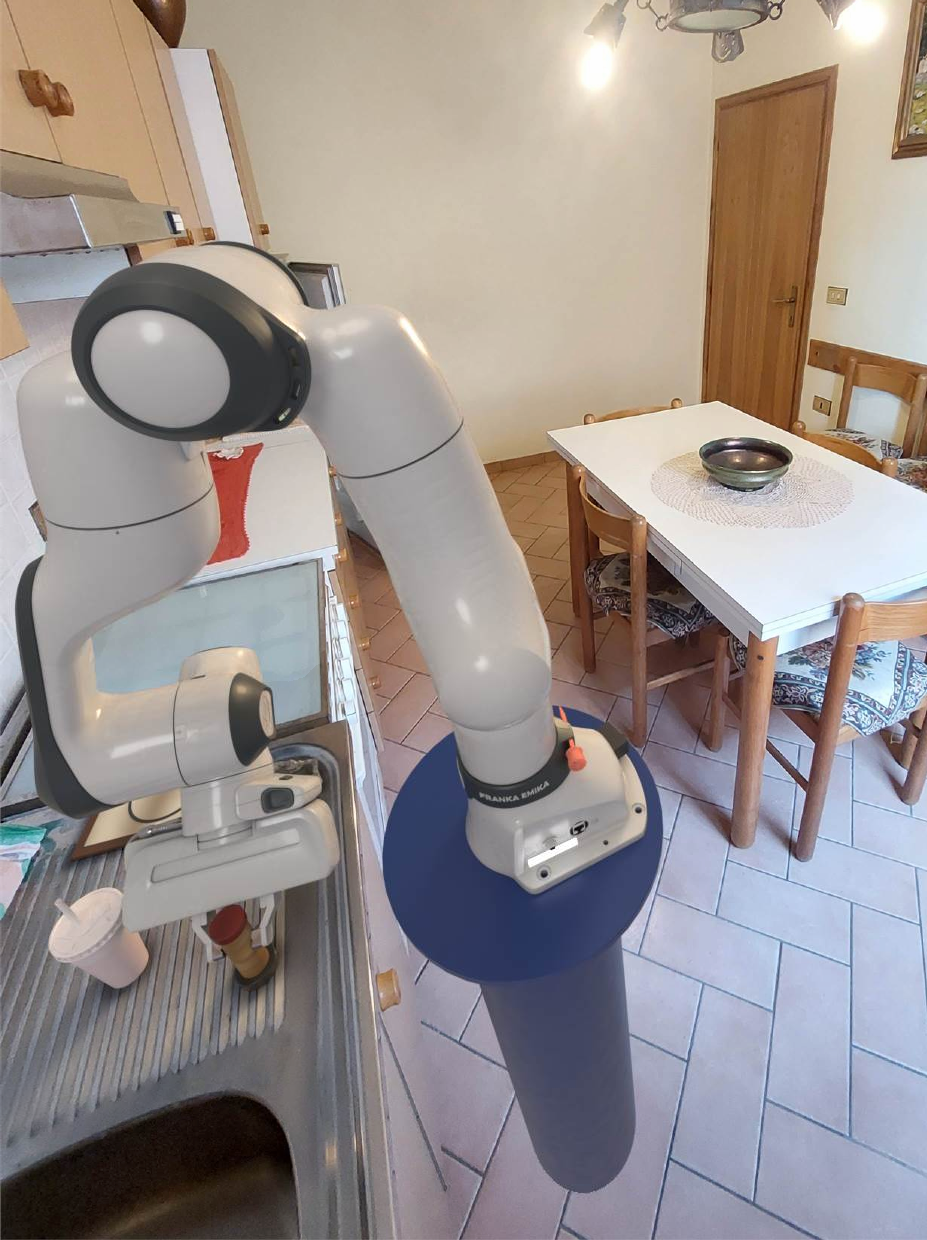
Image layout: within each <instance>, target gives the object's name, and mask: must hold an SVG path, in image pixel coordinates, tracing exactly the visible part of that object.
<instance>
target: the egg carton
mask: <svg viewBox="0 0 927 1240" xmlns="http://www.w3.org/2000/svg"><path fill="white" fill-rule="evenodd" d="M318 765H319V757H314V758H309V759H306V760H300V759H298V760H294V759H288V760H283V761H281V760H279V761H275V762H274V761H273V766H274V773H278V774H292V775H310V776H317V777H319V778H320V780H321V784H323V779H322V776H321V775H320V771H319V766H318Z"/></svg>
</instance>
